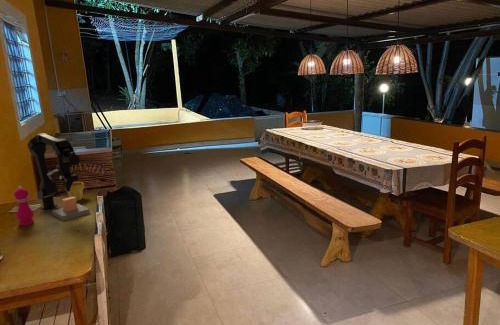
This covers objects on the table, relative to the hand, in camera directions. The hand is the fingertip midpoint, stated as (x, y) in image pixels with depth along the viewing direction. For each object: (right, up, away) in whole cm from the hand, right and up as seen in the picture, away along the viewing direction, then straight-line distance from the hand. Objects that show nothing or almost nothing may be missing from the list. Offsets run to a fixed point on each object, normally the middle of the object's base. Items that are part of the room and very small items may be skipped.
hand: (68, 191), depth 194 cm
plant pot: (-9, -7, +28) cm, 30 cm away
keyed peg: (0, -13, +3) cm, 13 cm away
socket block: (0, -13, +3) cm, 13 cm away
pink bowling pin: (-17, -16, -9) cm, 25 cm away
